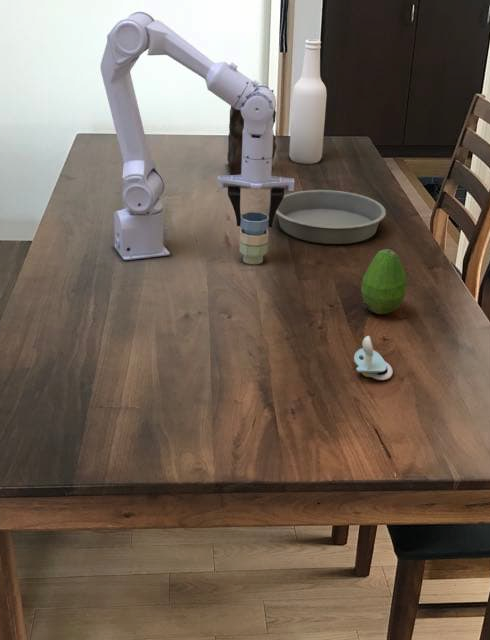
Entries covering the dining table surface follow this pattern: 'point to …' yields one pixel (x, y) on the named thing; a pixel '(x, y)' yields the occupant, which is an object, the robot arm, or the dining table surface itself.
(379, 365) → the pacifier
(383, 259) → the avocado
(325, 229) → the cake pan
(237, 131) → the owl
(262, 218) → the blue bowl
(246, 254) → the celadon bowl
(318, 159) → the alcohol
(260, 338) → the dining table surface
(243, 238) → the ivory bowl
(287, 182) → the robot arm
